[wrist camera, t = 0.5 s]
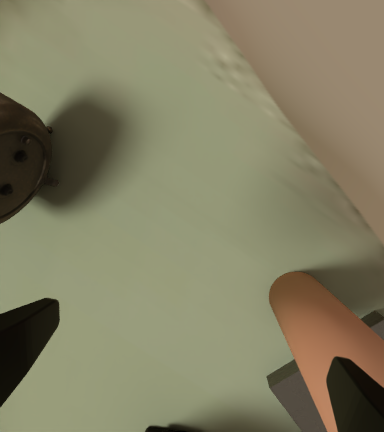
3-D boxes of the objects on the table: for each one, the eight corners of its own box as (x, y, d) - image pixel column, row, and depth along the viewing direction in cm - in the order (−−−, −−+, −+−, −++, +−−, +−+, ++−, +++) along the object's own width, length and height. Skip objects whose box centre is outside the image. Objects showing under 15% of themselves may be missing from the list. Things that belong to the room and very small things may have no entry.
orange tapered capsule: (322, 324, 24) (466, 508, 10) (268, 320, 24) (331, 490, 10) (325, 272, 23) (480, 389, 9) (270, 270, 24) (339, 377, 10)
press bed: (479, 448, 23) (510, 479, 21) (363, 504, 25) (380, 539, 22) (375, 310, 23) (393, 324, 21) (266, 376, 25) (271, 396, 22)
